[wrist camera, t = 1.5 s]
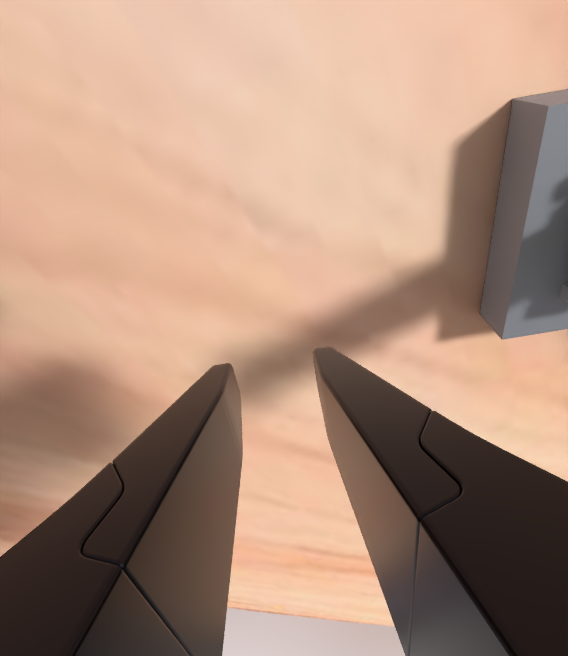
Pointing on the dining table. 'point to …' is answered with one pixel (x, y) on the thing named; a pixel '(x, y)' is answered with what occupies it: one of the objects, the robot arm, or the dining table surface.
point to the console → (531, 223)
